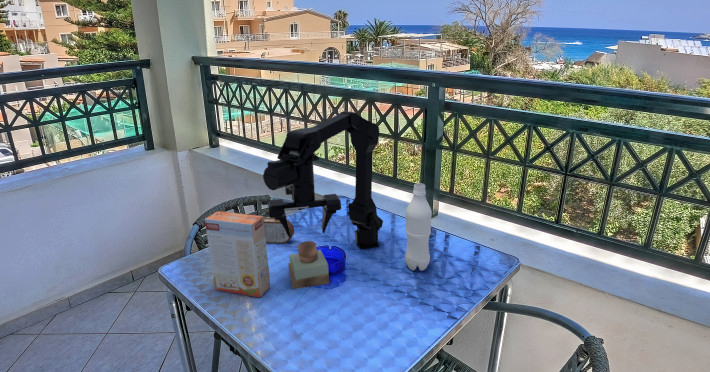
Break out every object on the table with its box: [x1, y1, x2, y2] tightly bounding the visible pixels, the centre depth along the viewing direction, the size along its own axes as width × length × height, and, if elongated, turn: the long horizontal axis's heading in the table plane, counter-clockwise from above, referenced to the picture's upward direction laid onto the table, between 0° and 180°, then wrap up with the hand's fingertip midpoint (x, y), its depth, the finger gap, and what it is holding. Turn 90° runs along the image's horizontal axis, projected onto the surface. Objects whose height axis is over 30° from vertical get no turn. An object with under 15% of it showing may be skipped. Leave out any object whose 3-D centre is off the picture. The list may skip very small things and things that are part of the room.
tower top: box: [289, 249, 329, 280], centre depth 116 cm, size 9×9×3 cm
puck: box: [297, 240, 318, 263], centre depth 115 cm, size 5×5×4 cm
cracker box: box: [204, 210, 271, 298], centre depth 109 cm, size 14×6×21 cm, turn 71°
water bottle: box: [404, 182, 433, 272], centre depth 117 cm, size 7×7×25 cm
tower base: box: [287, 262, 330, 290], centre depth 117 cm, size 10×10×3 cm
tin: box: [263, 217, 295, 245], centre depth 137 cm, size 15×3×8 cm, turn 84°
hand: (306, 234), depth 113 cm, fingers open, 9 cm apart
